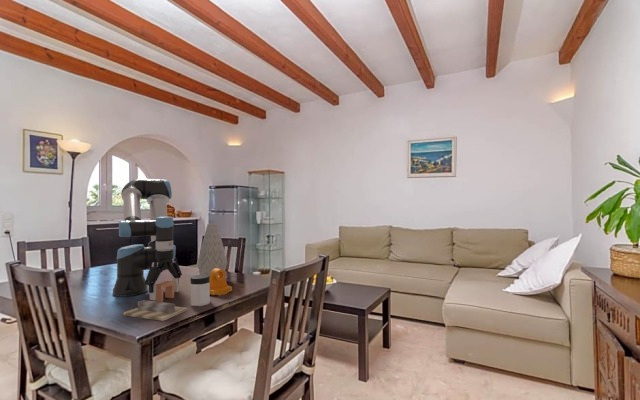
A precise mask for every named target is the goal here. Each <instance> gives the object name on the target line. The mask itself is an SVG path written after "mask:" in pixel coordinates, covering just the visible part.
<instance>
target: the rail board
mask: <svg viewBox="0 0 640 400" xmlns="http://www.w3.org/2000/svg"><path fill="white" fill-rule="evenodd" d="M187 311H188V307H182V306H176V304H175V303H170V302H164V301H163V302H156V301H154V300H147V299H143V300H140V301H138V302H137V307H135V308H133V309H130V310H127V311H125V312H123V316H127V317H134V318H139V319H147V320H155V321H162V322H164V321H166V320H169V319H171V318H173V317H176V316H178V315H180V314H182V313H184V312H187Z"/></svg>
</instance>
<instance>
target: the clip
mask: <svg viewBox="0 0 640 400" xmlns="http://www.w3.org/2000/svg"><path fill="white" fill-rule="evenodd" d="M154 285H156V300H153V301H156V302H164V289H165V298H170V299H173V298H175V292H174V281H172V280H166V281H162V282H159V283H155V284H154Z"/></svg>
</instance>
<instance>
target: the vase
mask: <svg viewBox="0 0 640 400" xmlns="http://www.w3.org/2000/svg"><path fill="white" fill-rule="evenodd" d="M204 231H205V232H204V238H203V240H202V242H201V243H202V244H201V247H200V249H199V254H198V257H197V262H196V267H197V268H198V272H199V275H209V276H210V274H211V271H212V270H213V269H214V268H219V269H222V270H224V271H225V272H226V267H227V265H228V259H227V256H226V252H225V247H224V243H223V240H222V237H221V233H220V228H219V224H218V223H207V225H206V228H205V230H204ZM218 274H219V273H218Z"/></svg>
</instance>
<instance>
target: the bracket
mask: <svg viewBox="0 0 640 400" xmlns="http://www.w3.org/2000/svg"><path fill="white" fill-rule="evenodd" d="M218 273H219V274H218ZM229 292H233V287H232V286H231V285H228V283H227V280H226V270H225V271H224V270H222V269H219V268H214V269H213V270H212V271H211V274H210V295H211V296H215V295H216V296H217V295H219V296H223V295H226V294H227V293H228V294H229ZM222 294H223V295H222ZM228 294H227V295H228Z"/></svg>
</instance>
